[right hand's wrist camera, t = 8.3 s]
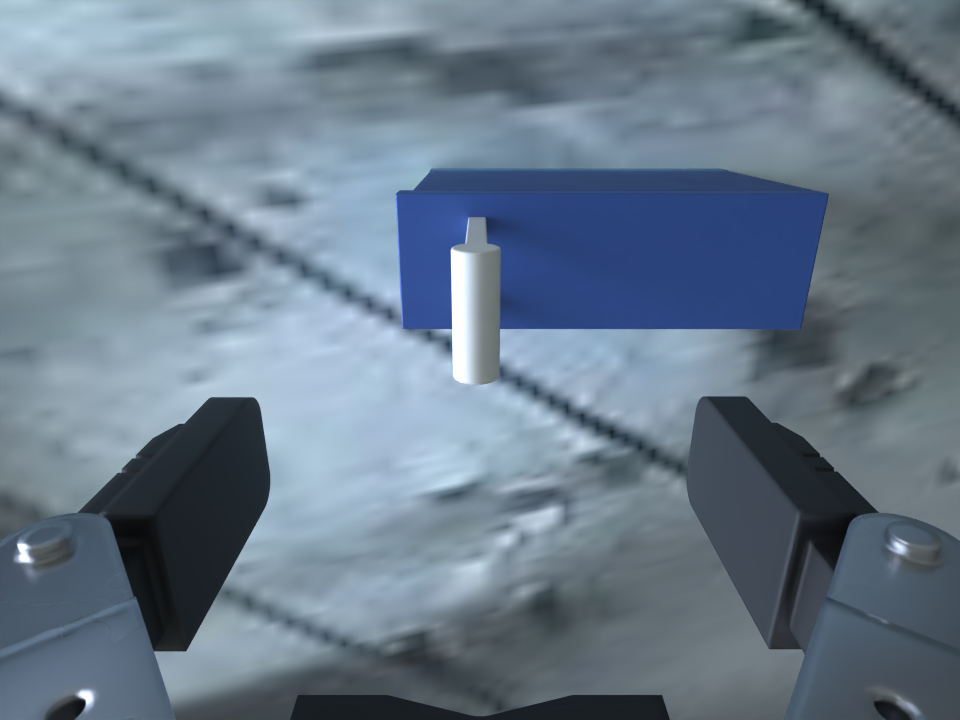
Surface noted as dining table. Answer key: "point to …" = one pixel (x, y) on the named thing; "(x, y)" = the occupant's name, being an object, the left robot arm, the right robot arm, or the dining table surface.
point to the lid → (601, 262)
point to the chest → (595, 180)
